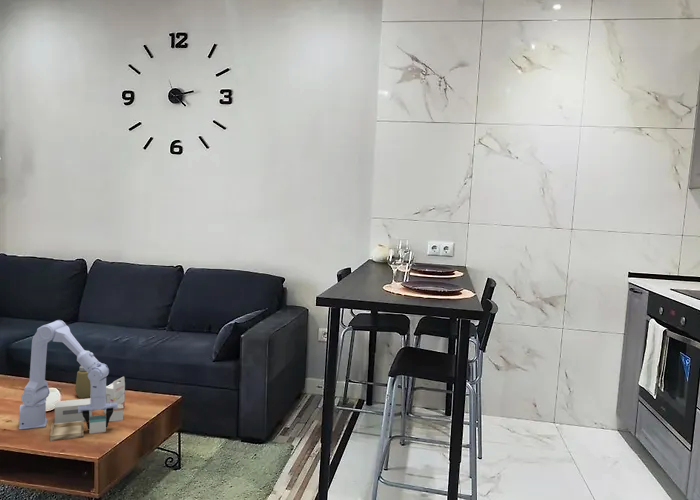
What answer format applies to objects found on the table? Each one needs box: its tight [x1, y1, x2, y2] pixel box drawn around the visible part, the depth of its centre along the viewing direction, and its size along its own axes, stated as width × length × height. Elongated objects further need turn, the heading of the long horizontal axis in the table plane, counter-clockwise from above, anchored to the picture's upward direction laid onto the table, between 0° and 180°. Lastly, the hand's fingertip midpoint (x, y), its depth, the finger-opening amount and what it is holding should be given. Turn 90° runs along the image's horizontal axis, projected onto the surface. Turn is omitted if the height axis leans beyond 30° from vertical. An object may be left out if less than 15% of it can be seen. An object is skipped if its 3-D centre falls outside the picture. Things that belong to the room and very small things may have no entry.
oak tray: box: [49, 421, 85, 442], centre depth 224 cm, size 12×12×2 cm
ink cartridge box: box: [103, 376, 126, 414], centre depth 248 cm, size 9×5×15 cm, turn 168°
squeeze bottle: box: [74, 365, 91, 399], centre depth 262 cm, size 8×8×18 cm
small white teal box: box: [88, 414, 107, 434], centre depth 228 cm, size 6×4×6 cm
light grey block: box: [108, 404, 124, 423], centre depth 239 cm, size 6×4×6 cm
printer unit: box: [54, 397, 93, 424], centre depth 237 cm, size 14×8×7 cm, turn 115°
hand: (97, 427), depth 228 cm, fingers closed on small white teal box, 6 cm apart
